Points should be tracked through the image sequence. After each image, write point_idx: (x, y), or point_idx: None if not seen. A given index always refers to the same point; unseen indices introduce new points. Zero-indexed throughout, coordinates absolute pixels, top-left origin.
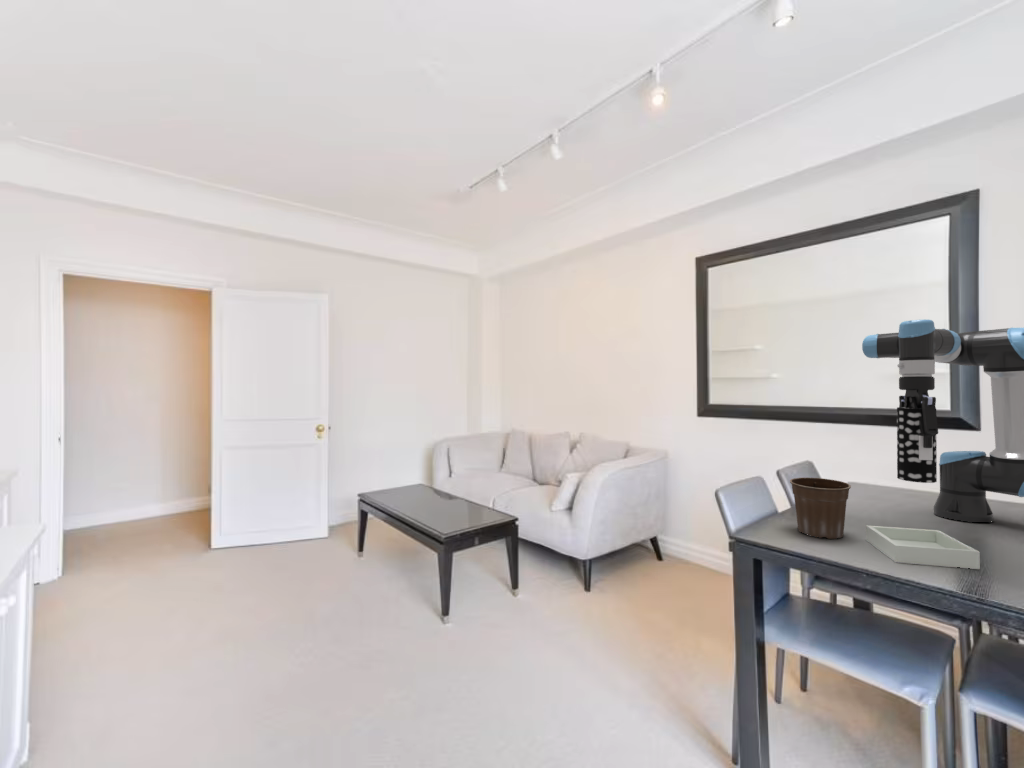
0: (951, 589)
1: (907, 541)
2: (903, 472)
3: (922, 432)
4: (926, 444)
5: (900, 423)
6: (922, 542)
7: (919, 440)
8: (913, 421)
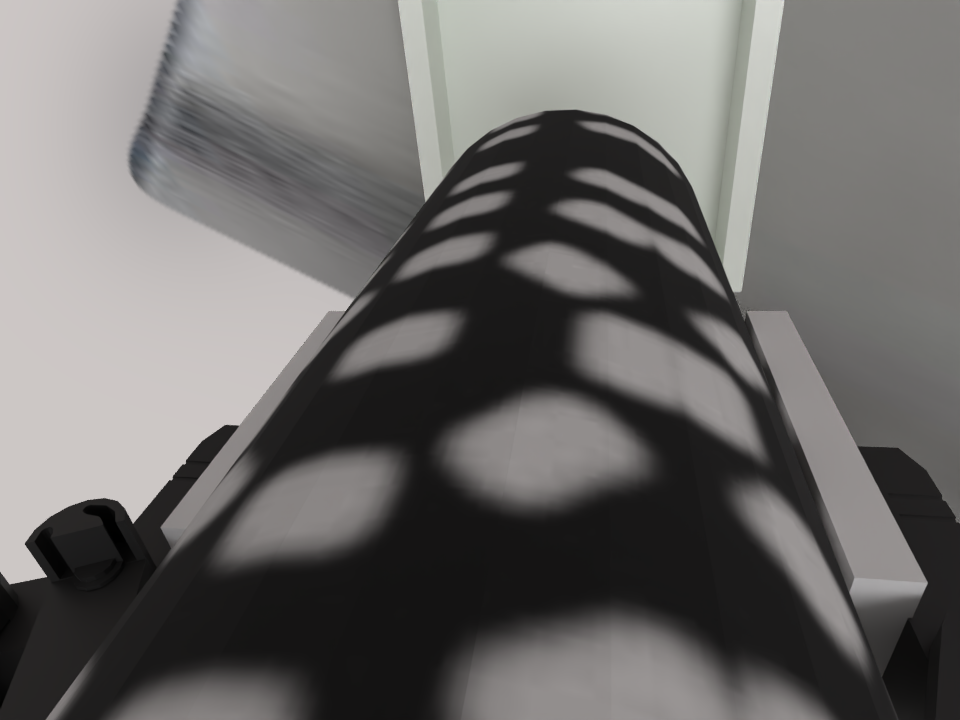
0: (184, 65)
1: (707, 126)
2: (485, 147)
3: (75, 587)
4: (193, 464)
5: (273, 603)
6: (702, 191)
7: (231, 464)
8: None
